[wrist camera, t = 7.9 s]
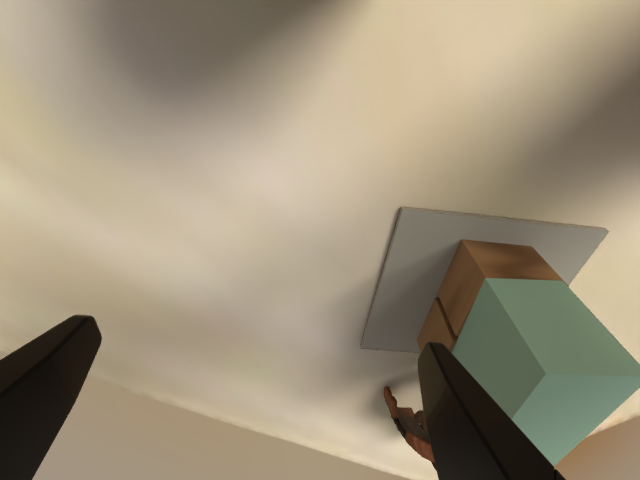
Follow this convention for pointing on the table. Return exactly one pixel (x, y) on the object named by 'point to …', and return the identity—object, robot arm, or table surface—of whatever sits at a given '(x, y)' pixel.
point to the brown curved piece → (410, 426)
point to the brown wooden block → (437, 328)
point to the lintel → (545, 361)
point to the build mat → (436, 255)
